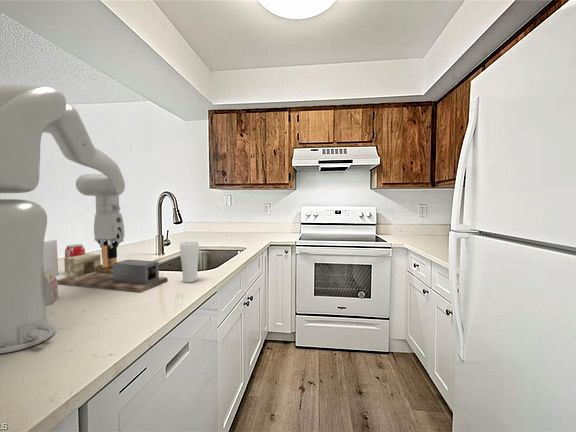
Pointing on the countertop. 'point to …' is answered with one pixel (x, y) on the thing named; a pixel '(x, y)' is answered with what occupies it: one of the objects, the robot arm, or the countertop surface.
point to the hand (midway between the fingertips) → (109, 257)
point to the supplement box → (50, 255)
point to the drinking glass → (189, 260)
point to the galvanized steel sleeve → (135, 272)
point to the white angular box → (50, 287)
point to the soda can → (74, 250)
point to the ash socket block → (81, 266)
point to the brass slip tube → (108, 262)
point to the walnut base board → (109, 283)
